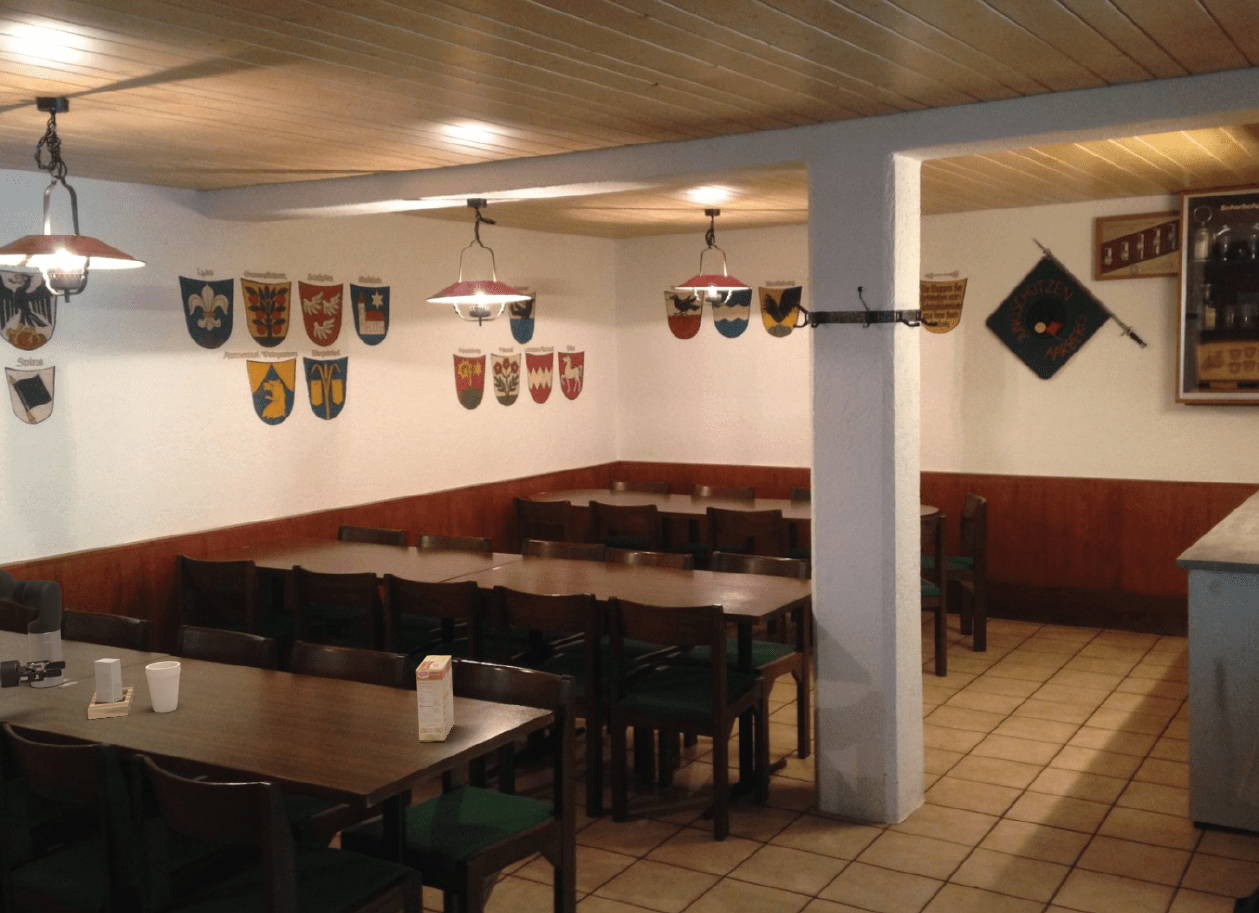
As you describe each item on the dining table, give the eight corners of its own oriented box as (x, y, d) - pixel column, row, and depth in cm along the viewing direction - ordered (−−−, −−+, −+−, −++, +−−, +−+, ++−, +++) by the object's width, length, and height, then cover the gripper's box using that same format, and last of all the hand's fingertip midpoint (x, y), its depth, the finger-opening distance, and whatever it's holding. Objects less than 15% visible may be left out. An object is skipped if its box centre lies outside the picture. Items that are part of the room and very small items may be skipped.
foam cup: (189, 706, 352) (187, 663, 351) (165, 715, 343) (162, 670, 342) (165, 703, 356) (163, 660, 355) (140, 712, 347) (138, 667, 346)
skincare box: (123, 699, 350) (121, 659, 349) (112, 703, 346) (110, 662, 345) (106, 698, 352) (104, 657, 351) (95, 702, 348) (93, 661, 347)
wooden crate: (96, 700, 361) (95, 690, 361) (133, 696, 364) (133, 686, 364) (88, 720, 340) (87, 709, 340) (128, 716, 344) (127, 705, 343)
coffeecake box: (429, 725, 327) (426, 655, 326) (455, 725, 327) (452, 654, 325) (417, 743, 312) (414, 669, 311) (445, 742, 312) (442, 668, 310)
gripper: (-5, 668, 334) (59, 661, 339) (4, 656, 347) (65, 649, 352) (-3, 695, 334) (61, 687, 340) (6, 681, 348) (67, 674, 353)
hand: (63, 668), depth 346 cm, fingers open, 8 cm apart
